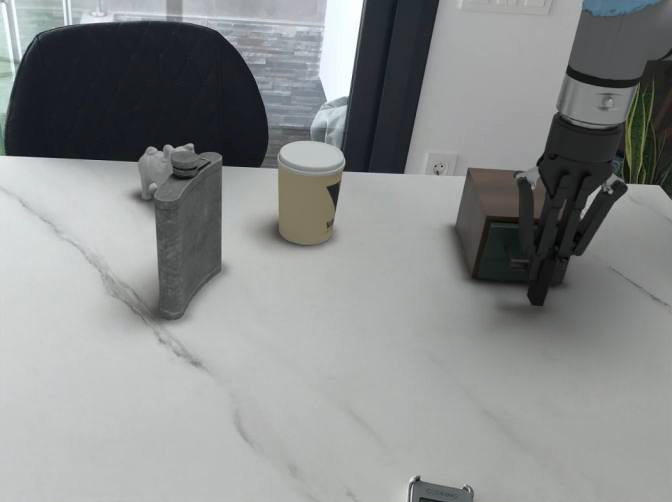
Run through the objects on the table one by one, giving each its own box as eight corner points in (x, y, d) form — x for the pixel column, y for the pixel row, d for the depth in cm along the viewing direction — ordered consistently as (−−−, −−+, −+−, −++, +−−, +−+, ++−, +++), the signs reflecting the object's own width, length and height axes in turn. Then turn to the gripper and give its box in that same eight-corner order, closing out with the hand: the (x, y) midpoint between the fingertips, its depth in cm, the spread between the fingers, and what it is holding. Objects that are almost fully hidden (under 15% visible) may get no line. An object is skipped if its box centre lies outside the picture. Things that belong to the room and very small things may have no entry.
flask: (150, 314, 95) (141, 176, 83) (200, 260, 105) (198, 131, 94) (177, 322, 94) (172, 183, 83) (224, 266, 105) (226, 136, 93)
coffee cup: (338, 249, 110) (348, 169, 102) (273, 246, 109) (277, 165, 102) (335, 218, 117) (343, 141, 109) (273, 215, 117) (277, 138, 109)
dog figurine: (185, 227, 112) (183, 157, 105) (134, 195, 119) (129, 127, 112) (214, 217, 115) (214, 148, 108) (162, 185, 122) (159, 119, 115)
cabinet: (561, 284, 106) (583, 221, 100) (470, 278, 106) (486, 215, 100) (537, 232, 117) (554, 172, 111) (454, 227, 117) (467, 167, 111)
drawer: (571, 303, 101) (589, 250, 96) (484, 298, 101) (498, 245, 96) (538, 234, 115) (552, 185, 110) (462, 229, 115) (473, 180, 110)
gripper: (538, 126, 81) (489, 314, 96) (661, 133, 81) (593, 319, 96) (522, 101, 87) (478, 282, 102) (637, 108, 87) (576, 287, 102)
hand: (534, 300), depth 99 cm, fingers closed
